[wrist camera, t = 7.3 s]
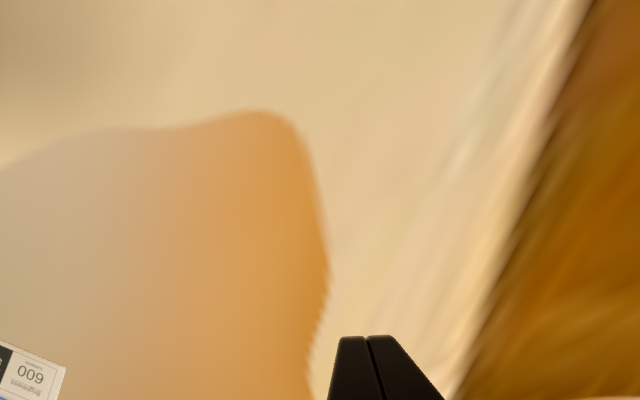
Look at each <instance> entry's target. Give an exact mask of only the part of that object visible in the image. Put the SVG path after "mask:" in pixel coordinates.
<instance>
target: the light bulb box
mask: <svg viewBox="0 0 640 400" xmlns="http://www.w3.org/2000/svg"><path fill="white" fill-rule="evenodd" d="M65 371H66V368H65V367H63V366H61V365H59V364H56V363H54V362H51V361H49V360H47V359H44V358H42V357H40V356H37V355H35V354H33V353H30V352H28V351H26V350H23V349H21V348H18V347H16V346H14V345H12V344H9V343H7V342H4V341H2V340H0V400H57V396H58V394H59V390H60V387H61V384H62V381H63V377H64V374H65Z"/></svg>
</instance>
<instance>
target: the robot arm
mask: <svg viewBox="0 0 640 400" xmlns="http://www.w3.org/2000/svg"><path fill="white" fill-rule="evenodd" d="M327 400H445V399H444V398H443V397H442V396H441V394H440V393H439V392H438V391H437V389H436V388H435V387H434V386H433V385H432V383H431V382H430V381H429V380H428V378H427V377H426V376H425V375H424V374H423V372H422V371H421V370H420V369H419V367H418V366H417V365H416V364H415V363H414V361H413V360H412V359H411V358H410V356H409V355H408V354H407V353H406V352H405V350H404V349H403V348H402V347H401V345H400V344H399V343H398V342H397V341H396V339H395V338H394V337H392V336H390V335H373V336H368V337H367V338H366V339H365V337H363V336H349V337H342V338H340V340H339V344H338V349H337V354H336V358H335V363H334V368H333V373H332V378H331V382H330V387H329V392H328V397H327Z"/></svg>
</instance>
